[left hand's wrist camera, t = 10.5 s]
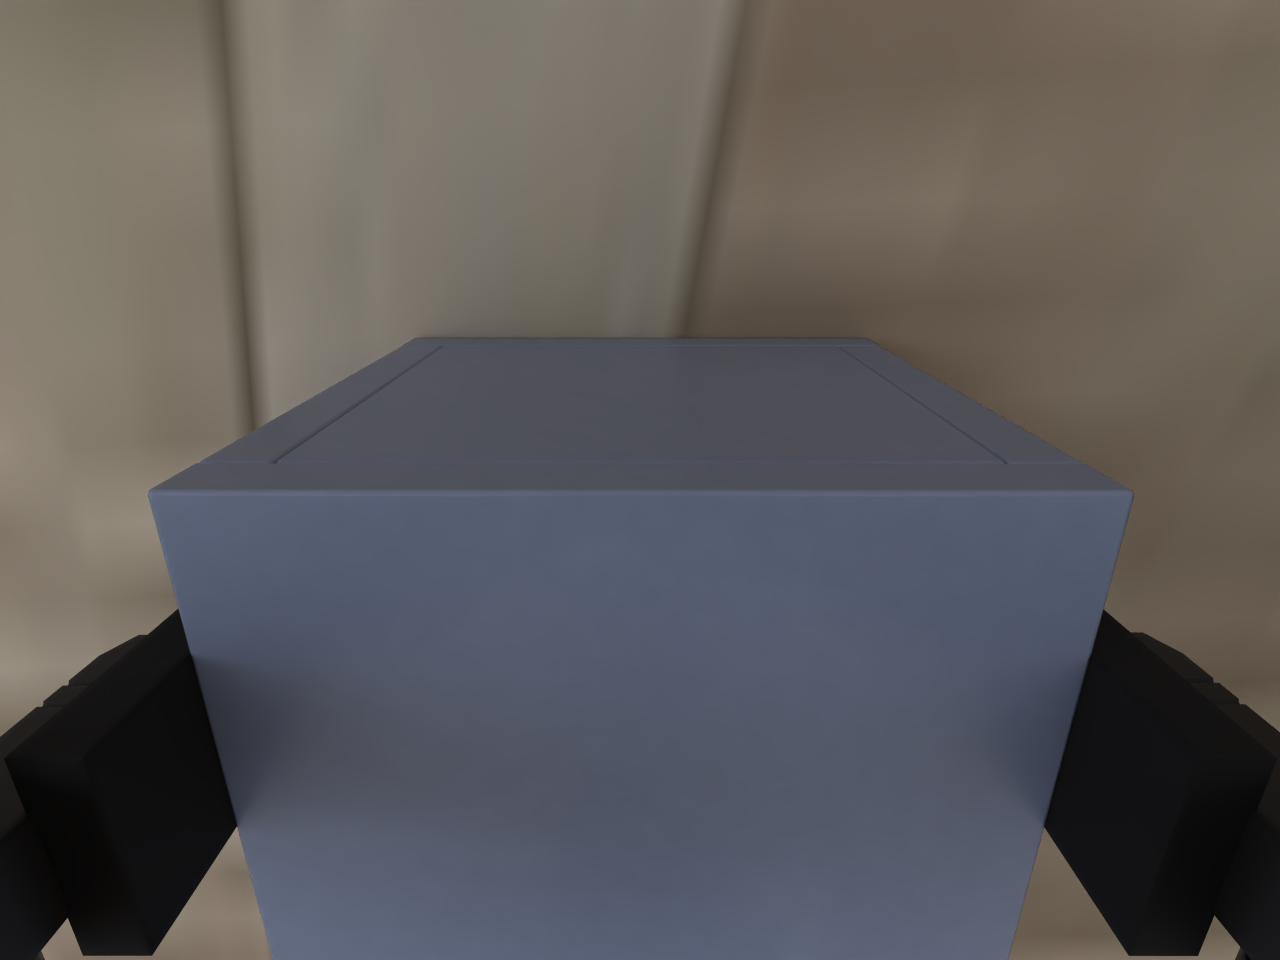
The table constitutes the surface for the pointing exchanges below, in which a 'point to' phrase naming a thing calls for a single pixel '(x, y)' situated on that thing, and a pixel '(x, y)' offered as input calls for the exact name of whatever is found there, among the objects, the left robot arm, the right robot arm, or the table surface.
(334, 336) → the table surface
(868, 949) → the cabinet
